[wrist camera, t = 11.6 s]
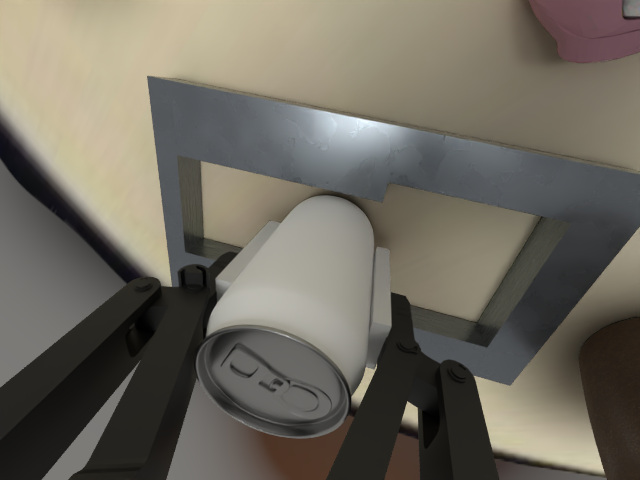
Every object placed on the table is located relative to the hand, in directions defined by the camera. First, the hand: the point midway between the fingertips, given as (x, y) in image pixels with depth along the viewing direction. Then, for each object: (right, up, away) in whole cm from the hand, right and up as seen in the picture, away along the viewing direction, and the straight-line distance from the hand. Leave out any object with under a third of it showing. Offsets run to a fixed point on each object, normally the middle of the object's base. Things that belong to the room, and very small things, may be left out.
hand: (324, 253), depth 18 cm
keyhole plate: (+2, +1, +3) cm, 4 cm away
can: (0, +1, +2) cm, 3 cm away
